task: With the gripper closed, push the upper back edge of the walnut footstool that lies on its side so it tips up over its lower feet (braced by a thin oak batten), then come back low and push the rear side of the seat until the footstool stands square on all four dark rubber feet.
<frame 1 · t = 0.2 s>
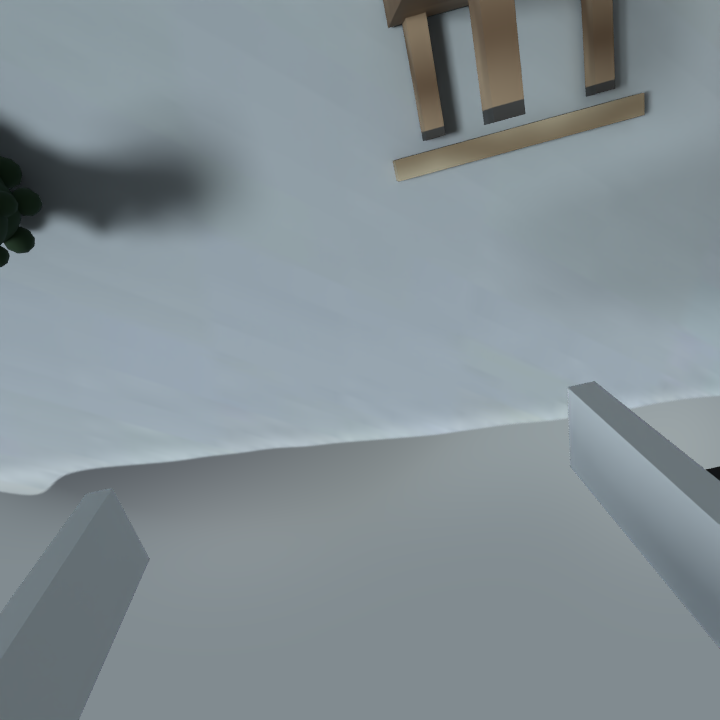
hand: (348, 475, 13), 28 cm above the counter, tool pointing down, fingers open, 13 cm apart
oak batten: (513, 138, 36), on the counter
footstool: (556, 3, 26), point 8 cm above the counter, hinge at 0.0°
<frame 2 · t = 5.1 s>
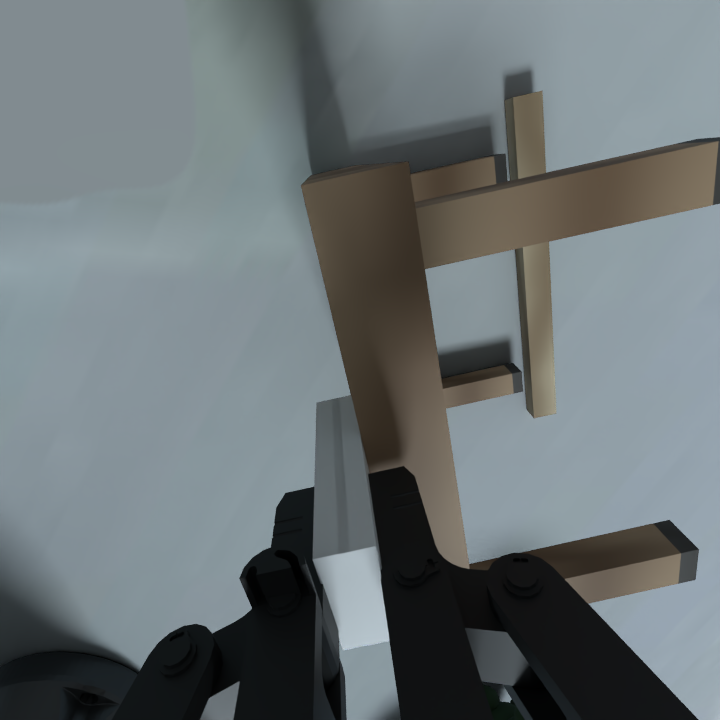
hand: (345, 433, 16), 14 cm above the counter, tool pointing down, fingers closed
oak batten: (529, 272, 28), on the counter
footstool: (462, 343, 21), point 8 cm above the counter, hinge at 1.1°, touching gripper
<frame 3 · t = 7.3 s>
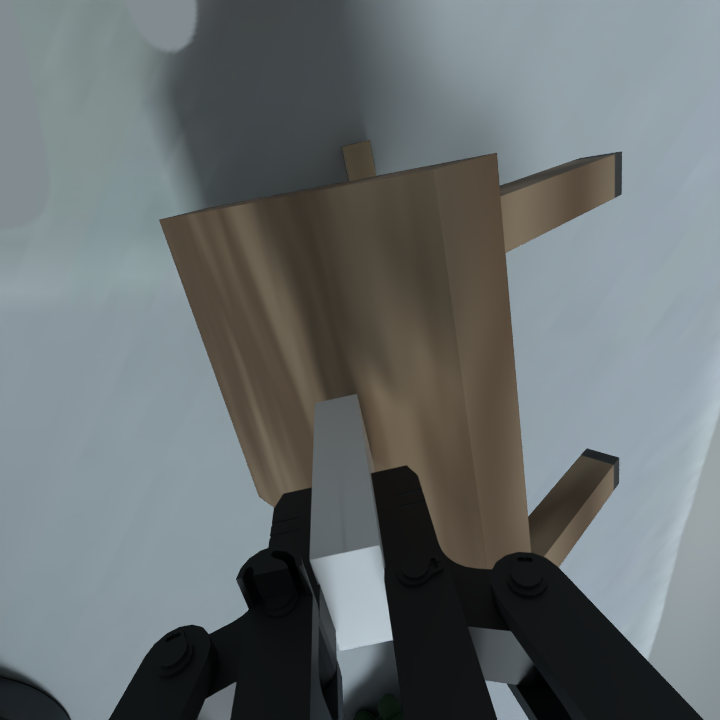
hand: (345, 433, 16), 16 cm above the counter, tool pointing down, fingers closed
oak batten: (385, 302, 30), on the counter
footstool: (389, 360, 21), point 10 cm above the counter, hinge at 37.8°, touching gripper
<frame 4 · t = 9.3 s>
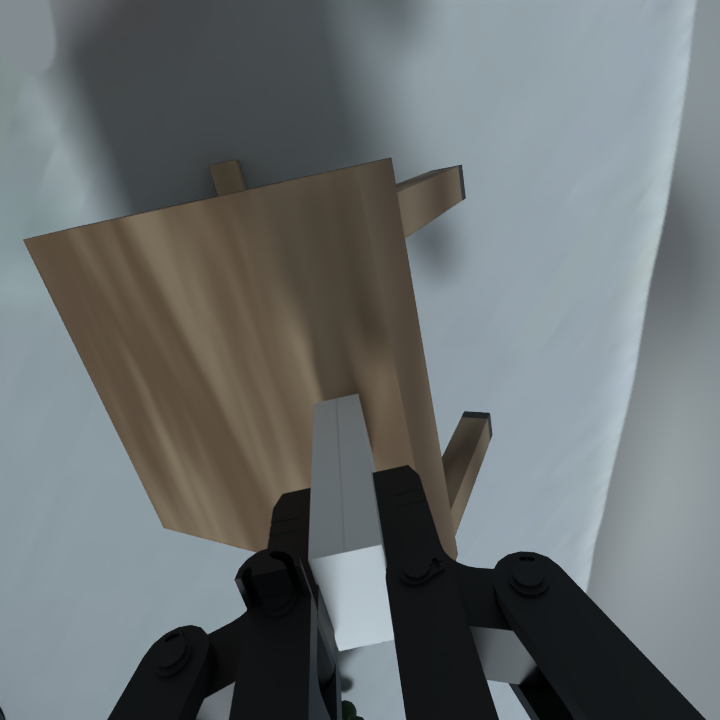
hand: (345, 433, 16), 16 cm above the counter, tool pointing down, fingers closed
oak batten: (271, 316, 31), on the counter
footstool: (291, 359, 23), point 9 cm above the counter, hinge at 59.6°, touching gripper
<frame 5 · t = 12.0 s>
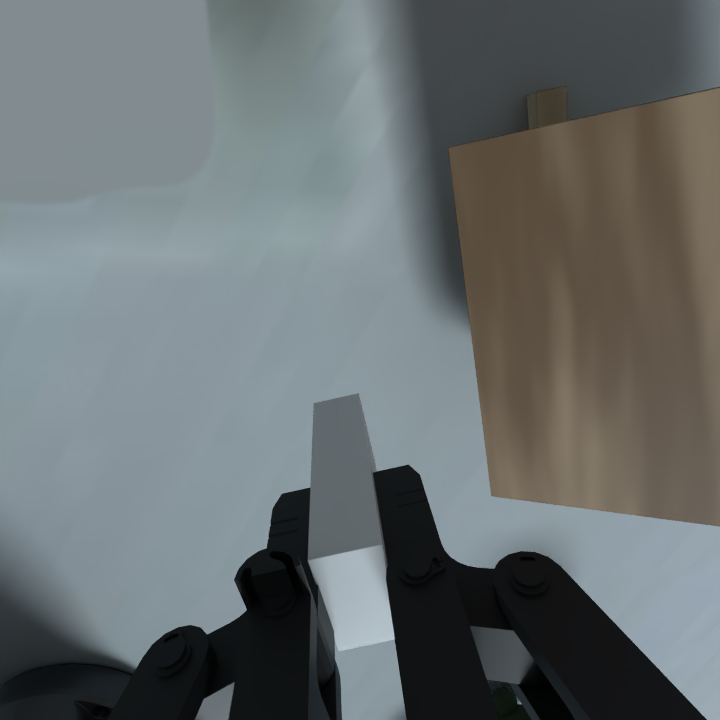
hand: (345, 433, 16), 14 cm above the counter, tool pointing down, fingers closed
oak batten: (549, 269, 28), on the counter
footstool: (683, 298, 20), point 9 cm above the counter, hinge at 59.7°
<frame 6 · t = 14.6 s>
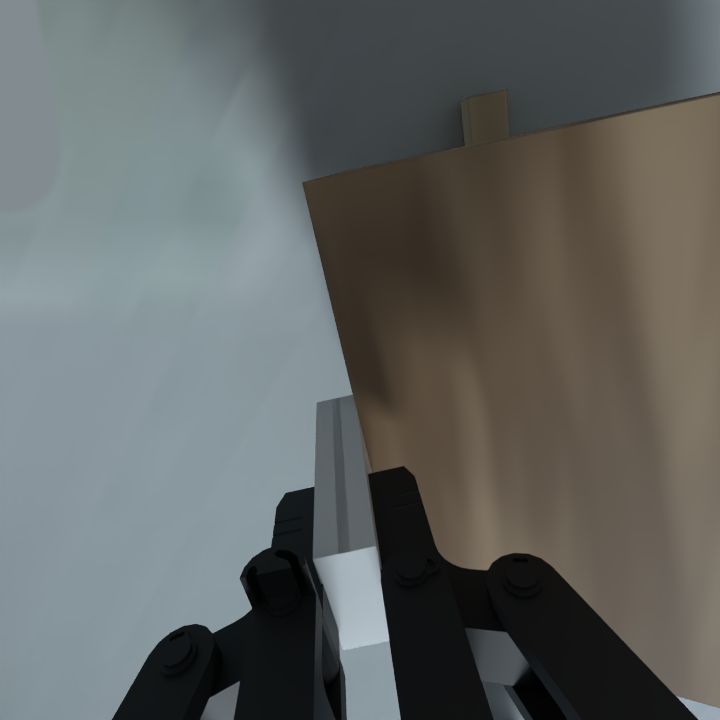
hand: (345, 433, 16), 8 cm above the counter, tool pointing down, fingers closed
oak batten: (498, 314, 23), on the counter
footstool: (650, 378, 15), point 8 cm above the counter, hinge at 61.2°, touching gripper
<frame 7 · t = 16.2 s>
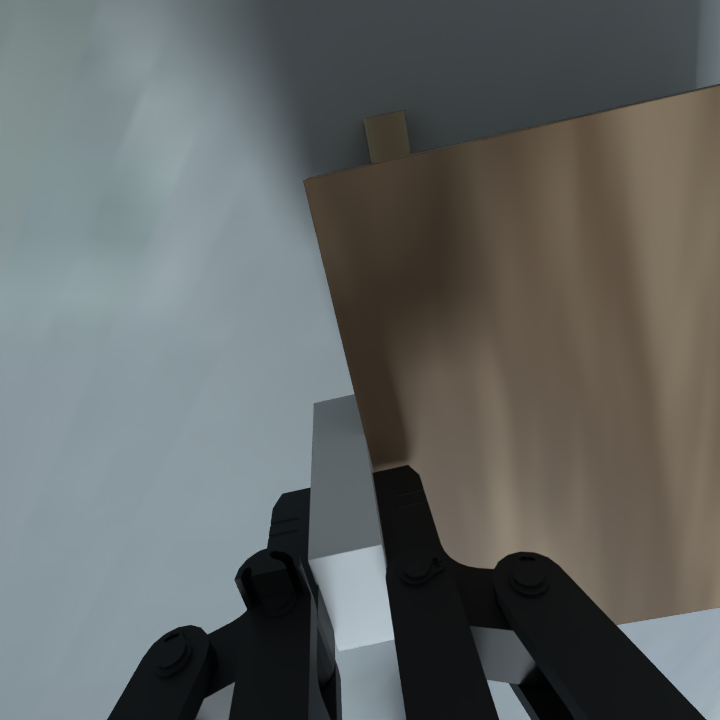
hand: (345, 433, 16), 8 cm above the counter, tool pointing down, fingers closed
oak batten: (417, 331, 23), on the counter
footstool: (576, 352, 17), point 6 cm above the counter, hinge at 87.5°, touching gripper
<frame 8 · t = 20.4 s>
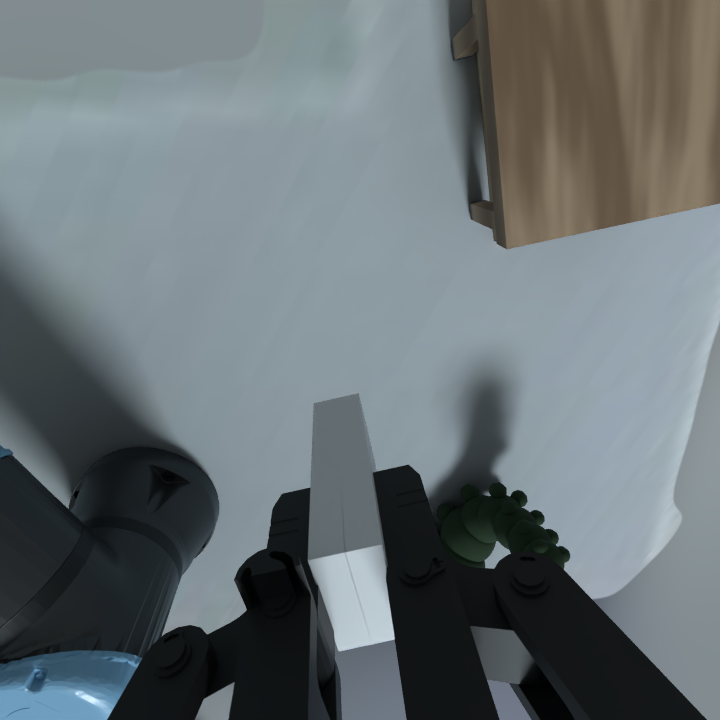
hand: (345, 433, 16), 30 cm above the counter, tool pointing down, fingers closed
oak batten: (492, 129, 40), on the counter
footstool: (582, 108, 35), point 6 cm above the counter, hinge at 87.5°
toy figurine: (444, 534, 58), on the counter
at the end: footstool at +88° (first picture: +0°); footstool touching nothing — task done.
